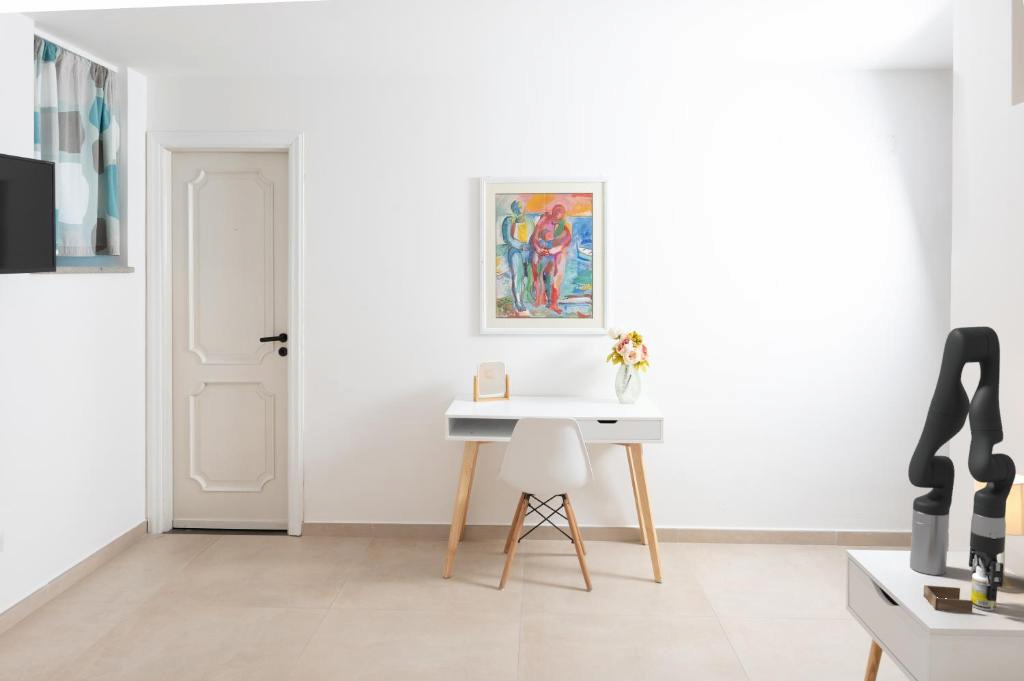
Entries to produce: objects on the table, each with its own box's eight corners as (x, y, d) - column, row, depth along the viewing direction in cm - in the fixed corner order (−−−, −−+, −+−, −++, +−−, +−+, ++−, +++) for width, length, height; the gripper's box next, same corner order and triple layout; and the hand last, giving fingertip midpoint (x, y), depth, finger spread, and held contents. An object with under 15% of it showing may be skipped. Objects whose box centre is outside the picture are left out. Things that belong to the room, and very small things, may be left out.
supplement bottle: (985, 602, 204) (988, 563, 203) (1000, 611, 199) (1003, 572, 198) (965, 602, 203) (967, 564, 203) (980, 612, 198) (982, 572, 197)
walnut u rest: (923, 596, 207) (924, 585, 207) (958, 598, 206) (959, 587, 206) (935, 610, 199) (936, 598, 199) (972, 612, 197) (972, 601, 197)
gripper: (960, 521, 207) (957, 581, 208) (983, 539, 193) (979, 603, 194) (991, 523, 206) (987, 583, 207) (1017, 542, 192) (1012, 606, 193)
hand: (983, 593), depth 201 cm, fingers open, 8 cm apart
